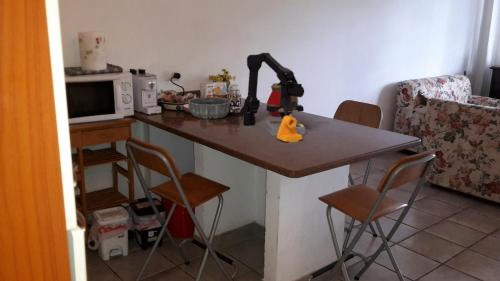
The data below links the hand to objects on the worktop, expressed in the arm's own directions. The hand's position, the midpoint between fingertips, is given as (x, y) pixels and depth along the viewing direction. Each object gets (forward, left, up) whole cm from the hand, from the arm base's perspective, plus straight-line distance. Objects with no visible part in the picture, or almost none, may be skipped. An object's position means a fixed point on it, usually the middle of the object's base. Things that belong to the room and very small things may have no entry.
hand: (284, 124), depth 243 cm
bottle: (+8, +49, -5) cm, 50 cm away
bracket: (-1, -14, -5) cm, 15 cm away
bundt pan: (-35, +48, -5) cm, 59 cm away
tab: (+4, +10, -3) cm, 11 cm away
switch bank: (+1, +5, -5) cm, 7 cm away
